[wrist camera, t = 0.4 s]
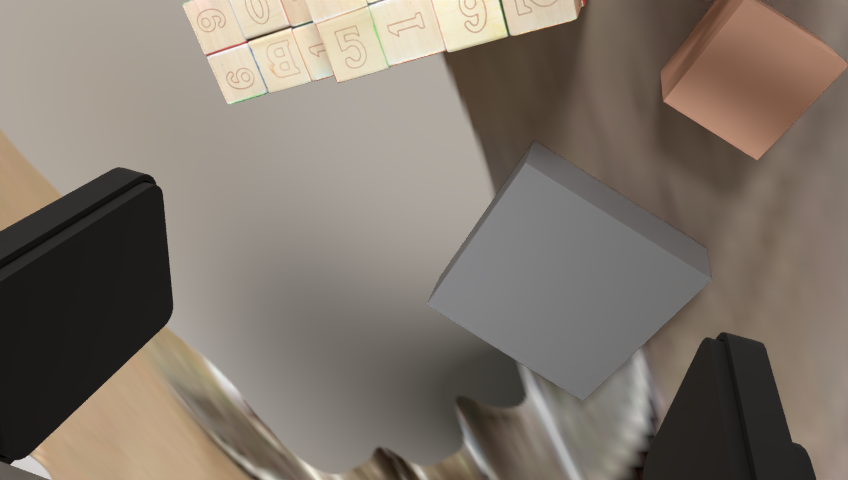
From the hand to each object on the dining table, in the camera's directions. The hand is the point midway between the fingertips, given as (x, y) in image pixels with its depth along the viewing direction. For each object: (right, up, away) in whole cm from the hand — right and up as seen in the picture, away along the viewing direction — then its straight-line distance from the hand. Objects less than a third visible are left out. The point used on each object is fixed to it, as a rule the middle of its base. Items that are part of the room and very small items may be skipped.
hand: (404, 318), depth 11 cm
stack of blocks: (0, +18, +30) cm, 35 cm away
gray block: (+11, 0, +36) cm, 38 cm away
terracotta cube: (+19, +12, +26) cm, 35 cm away
